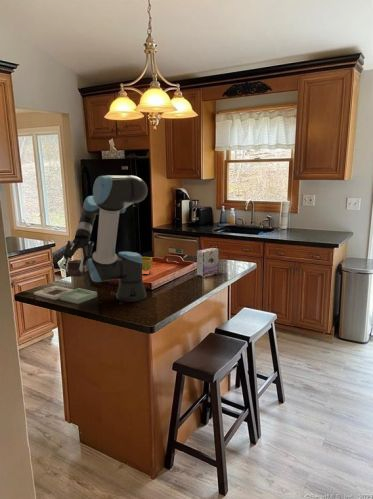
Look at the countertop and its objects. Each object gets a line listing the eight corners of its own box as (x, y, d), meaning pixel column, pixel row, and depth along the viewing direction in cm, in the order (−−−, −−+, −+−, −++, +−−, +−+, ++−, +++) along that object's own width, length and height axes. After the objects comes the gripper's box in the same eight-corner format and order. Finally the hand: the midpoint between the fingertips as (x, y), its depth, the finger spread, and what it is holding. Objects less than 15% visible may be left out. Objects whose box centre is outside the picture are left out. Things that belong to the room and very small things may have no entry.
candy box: (211, 272, 240) (212, 247, 236) (218, 274, 235) (219, 248, 232) (196, 276, 231) (196, 250, 227) (203, 278, 226) (203, 251, 223)
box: (79, 277, 184) (78, 262, 183) (68, 276, 186) (67, 262, 184) (85, 274, 190) (84, 260, 189) (74, 273, 191) (73, 259, 190)
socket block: (76, 292, 199) (76, 289, 199) (54, 299, 188) (54, 296, 187) (55, 287, 207) (55, 284, 207) (33, 294, 196) (33, 291, 195)
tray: (97, 296, 193) (96, 292, 192) (78, 304, 182) (77, 299, 181) (78, 292, 199) (78, 288, 199) (59, 299, 188) (59, 294, 188)
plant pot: (148, 276, 230) (148, 261, 228) (133, 275, 234) (132, 259, 232) (155, 272, 240) (154, 257, 238) (140, 271, 243) (140, 256, 241)
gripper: (103, 237, 199) (95, 274, 186) (68, 236, 201) (57, 274, 188) (99, 228, 193) (90, 266, 180) (63, 228, 194) (51, 266, 181)
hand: (73, 270), depth 184 cm, fingers closed on box, 6 cm apart
